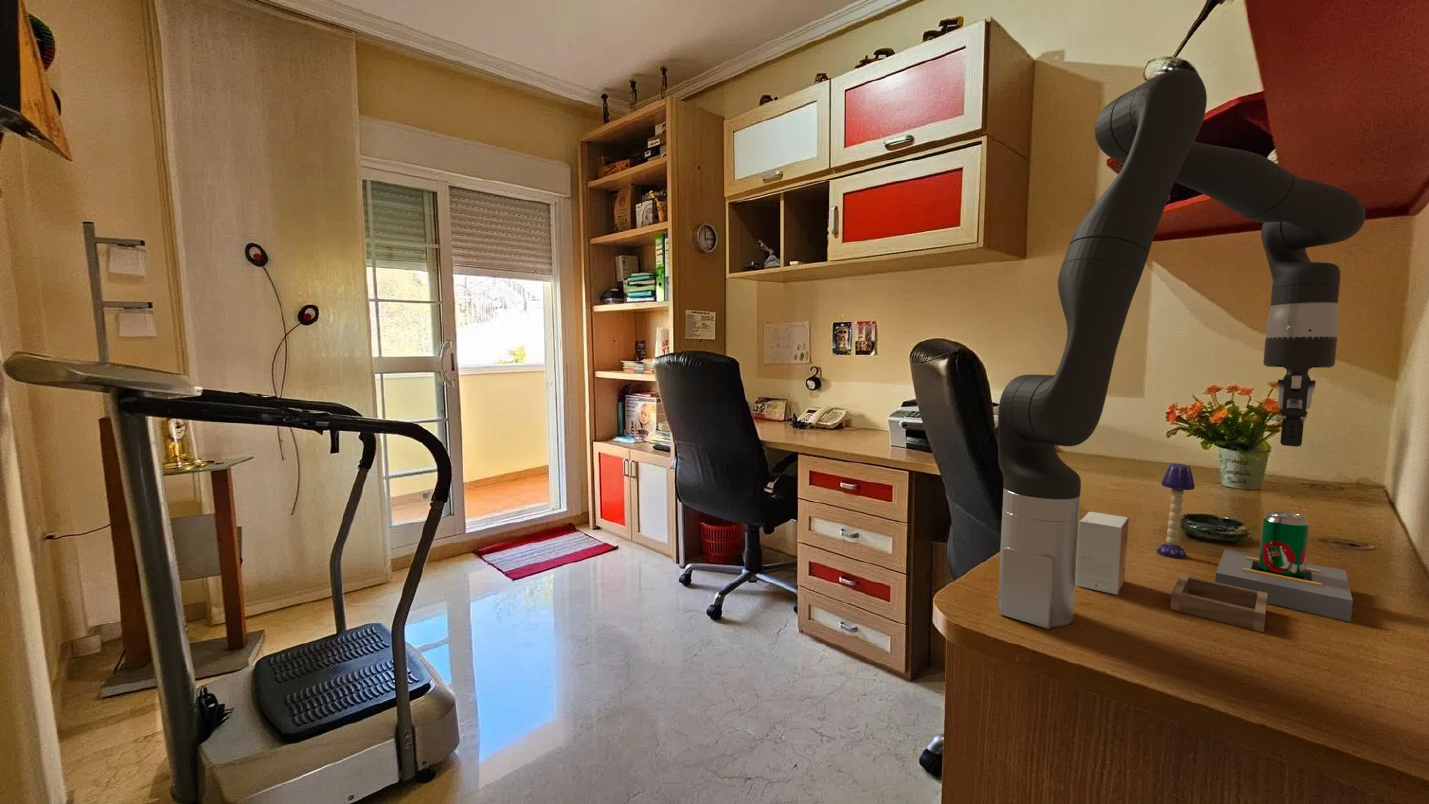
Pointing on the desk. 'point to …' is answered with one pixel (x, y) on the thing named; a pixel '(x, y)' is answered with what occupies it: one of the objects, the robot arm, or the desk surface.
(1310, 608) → the socket
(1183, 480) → the toy lamp
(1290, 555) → the soda can
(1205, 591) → the wooden square frame
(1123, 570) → the small box
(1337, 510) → the desk surface
